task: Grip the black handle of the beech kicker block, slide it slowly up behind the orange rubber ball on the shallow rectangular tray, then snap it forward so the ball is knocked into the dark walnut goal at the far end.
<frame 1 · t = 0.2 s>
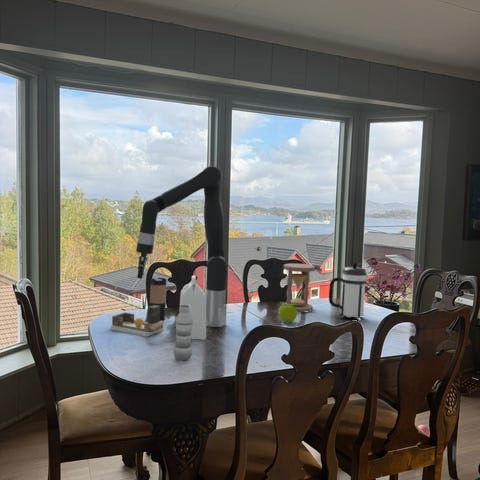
hand: (140, 276, 216), 22 cm above the table, tool pointing down, fingers open, 8 cm apart
milk: (191, 335, 203), on the table
kicker: (153, 317, 204), point 7 cm above the table, slide at 0.0 cm
shallow rectangular tray: (136, 329, 208), on the table
hourglass: (296, 309, 263), on the table
goal: (123, 327, 211), resting on shallow rectangular tray
plastic bottle: (182, 359, 172), on the table
fruit: (287, 322, 233), on the table
travel mug: (157, 319, 227), on the table
coffee press: (348, 318, 248), on the table
ball: (138, 322, 207), point 3 cm above the table, touching shallow rectangular tray
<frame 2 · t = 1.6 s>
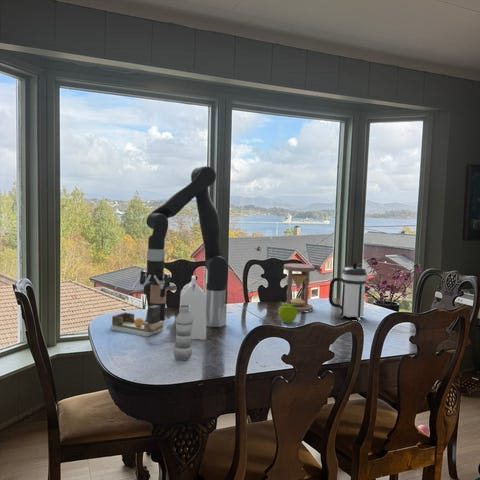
hand: (154, 295, 203), 17 cm above the table, tool pointing down, fingers open, 8 cm apart
nothing on the table moved.
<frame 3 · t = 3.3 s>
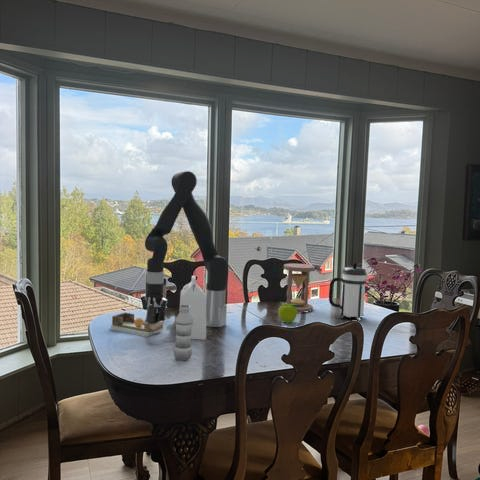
hand: (153, 320, 204), 6 cm above the table, tool pointing down, fingers closed on kicker, 3 cm apart
kicker: (153, 317, 204), point 7 cm above the table, slide at 0.0 cm, touching gripper
everything else where it was.
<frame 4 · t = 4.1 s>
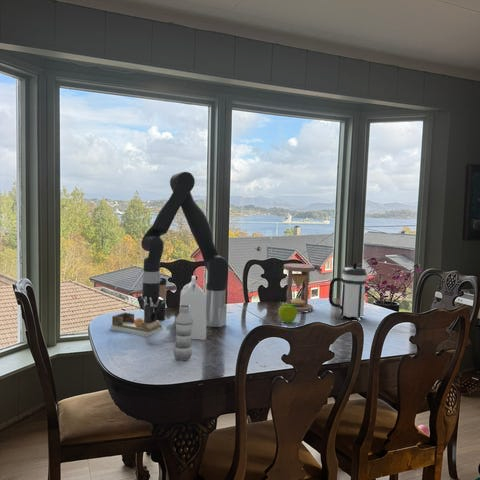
hand: (150, 319, 205), 6 cm above the table, tool pointing down, fingers closed on kicker, 3 cm apart
kicker: (150, 317, 204), point 7 cm above the table, slide at 1.9 cm, touching gripper
everything else where it was.
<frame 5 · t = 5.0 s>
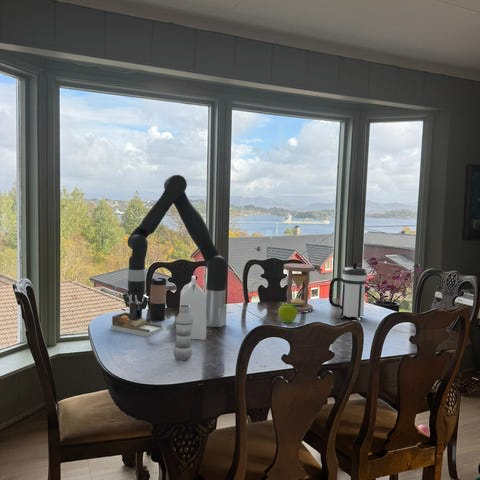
hand: (135, 316, 208), 6 cm above the table, tool pointing down, fingers closed on kicker, 3 cm apart
kicker: (135, 314, 208), point 7 cm above the table, slide at 9.9 cm, touching gripper
ball: (124, 319, 211), point 3 cm above the table, tilted 152°, touching shallow rectangular tray
everything else where it was.
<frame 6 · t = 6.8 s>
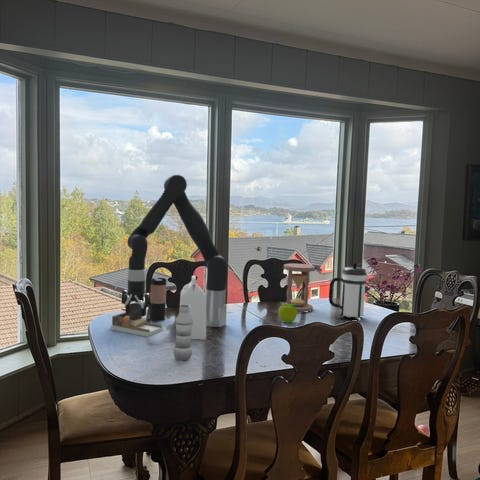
hand: (135, 314, 208), 7 cm above the table, tool pointing down, fingers open, 8 cm apart
kicker: (135, 314, 208), point 7 cm above the table, slide at 9.9 cm
ball: (127, 320, 210), point 3 cm above the table, tilted 158°, touching shallow rectangular tray
everything else where it was.
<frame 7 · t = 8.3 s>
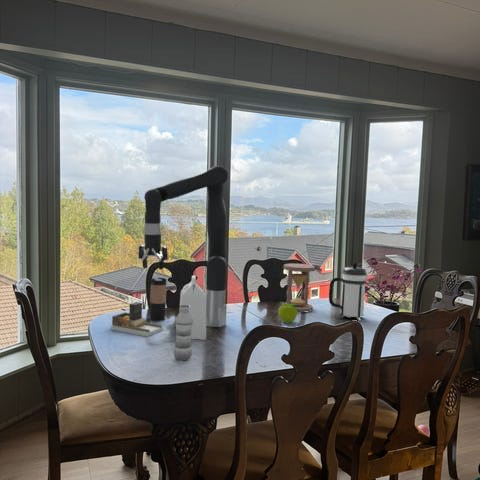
hand: (153, 268, 212), 27 cm above the table, tool pointing down, fingers open, 8 cm apart
ball: (126, 320, 210), point 3 cm above the table, tilted 165°, touching shallow rectangular tray
everything else where it was.
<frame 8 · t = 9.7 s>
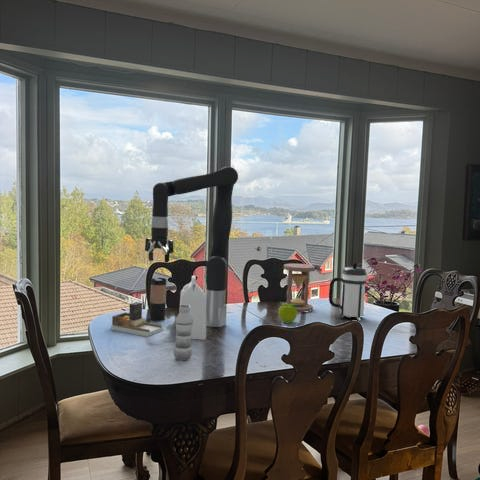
hand: (158, 261, 214), 30 cm above the table, tool pointing down, fingers open, 8 cm apart
ball: (126, 320, 210), point 3 cm above the table, tilted 172°, touching shallow rectangular tray
everything else where it was.
at the end: ball inside the target area (1.8 cm from its centre), point 3.5 cm above the table; kicker slide at 9.9 cm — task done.
